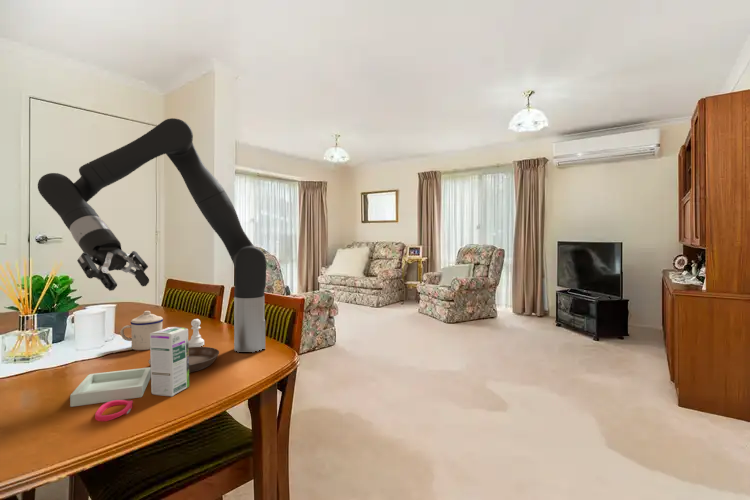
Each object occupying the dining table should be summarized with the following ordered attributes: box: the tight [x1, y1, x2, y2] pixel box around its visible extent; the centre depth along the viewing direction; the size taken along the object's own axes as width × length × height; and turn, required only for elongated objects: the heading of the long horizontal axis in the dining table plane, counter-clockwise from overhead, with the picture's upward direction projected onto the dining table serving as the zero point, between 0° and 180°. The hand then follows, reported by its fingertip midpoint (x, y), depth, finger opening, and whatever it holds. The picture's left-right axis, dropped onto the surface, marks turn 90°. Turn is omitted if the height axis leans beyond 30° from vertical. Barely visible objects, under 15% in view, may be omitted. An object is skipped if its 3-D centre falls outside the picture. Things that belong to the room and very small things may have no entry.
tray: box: [69, 366, 151, 408], centre depth 87 cm, size 13×13×2 cm
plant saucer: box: [148, 346, 220, 374], centre depth 105 cm, size 18×18×3 cm
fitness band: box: [94, 399, 134, 422], centre depth 77 cm, size 8×6×2 cm
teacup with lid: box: [119, 310, 164, 351], centre depth 121 cm, size 12×9×12 cm
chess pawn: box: [188, 318, 205, 347], centre depth 123 cm, size 5×5×9 cm
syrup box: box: [149, 326, 190, 397], centre depth 87 cm, size 6×6×14 cm
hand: (130, 286), depth 90 cm, fingers open, 8 cm apart
